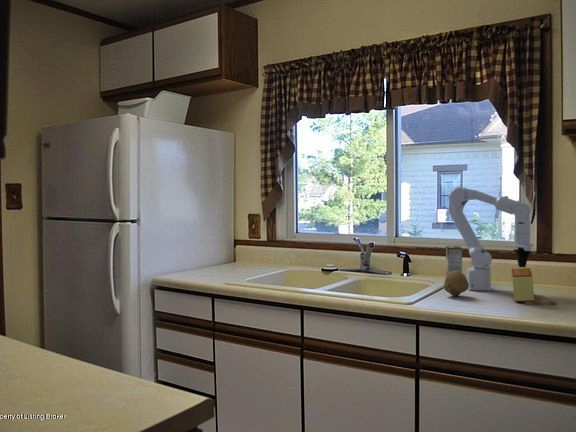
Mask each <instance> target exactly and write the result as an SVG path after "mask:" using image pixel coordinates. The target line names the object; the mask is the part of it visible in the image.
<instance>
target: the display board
mask: <svg viewBox="0 0 576 432" xmlns="http://www.w3.org/2000/svg"><path fill="white" fill-rule="evenodd" d="M521 302H522V303H524V304H526V305H540V306H541V305H543V306H545V305H546V306H548V305H549V306H550V305H551V306H552V305H553V306H554V305H555V306H556V305H557V302H556V301H554V300H552V299H550V298H548V297H547V296H546V295H543V294H534V301H521Z"/></svg>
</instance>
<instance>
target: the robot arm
mask: <svg viewBox="0 0 576 432" xmlns="http://www.w3.org/2000/svg"><path fill="white" fill-rule="evenodd" d="M448 200H449V201H448V213H449V216H450V217H451V219H452V221H453V223H454V224H455V226H456V228H457V230H458V231H459V232H458V233H460V235H461V237H462V239H463V240H464V242H465V245H466V247H467V248H468V252H469V256H470V258H471V259H470V260H471V264H472V267H469V268H467V269H466V275H465V277H466V279H467V281H468V283H469V287H468V289H467V290H469V291H484V292H485V291H494V288H492V287H491V286H492V281H491V279H492V268H491V267H492V266H490V264H491V263H492V260H493V259H492V258H493V257H492V255H491V253H490V252H488V251H487V250H486V249H485V247H484V246H483V245H482V244H481V243H480V241H479V239H478V237H477V235H476V234H475V232H474V230H473V228H472V226H471V224H470V222H469V220H468V219H467V217H466V215H465V214H464V212H463V210H464V208H465V206H466V204H467V203H468V202H469V201H471V200H472V201H473V200H477V201H481V202H483V203H486V204H489V205H493V206H494V207H495V209H496V210H497V211H500V212H504V213H505V214H510V215H514V236H513V237H514V242H513V248H516V249H513V252H514V254H515V256H516V260H517V264H518V267H519V268H527V267H526V266H527V263H528V259H529V257H530V255H531V254H532V253H531V252H532V247H534V244H532V243H531V216H530V215H531V213H532V208H531V206H530V205H529V204H528V203H526V202H521V201H520V200H518V199H517V200H514V199H511V198H509V196H508V195H504V196H499V197H495V196H492V195H490V194H487V193H484V192H482V191H480V190H476V189H471V188H467V187H455V188H453V189H452V190H451V191H450V193H449V196H448Z"/></svg>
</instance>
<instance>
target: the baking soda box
mask: <svg viewBox="0 0 576 432" xmlns="http://www.w3.org/2000/svg"><path fill="white" fill-rule="evenodd" d="M511 277H512V287H513V288H512V289H513V298H514V299H513V300H514V302H515V303H516V302H522V301H534V295H535V294H534V279H533V274H532V270H531V268H530V267H529V268H528V267H522V268H511Z"/></svg>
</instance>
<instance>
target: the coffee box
mask: <svg viewBox="0 0 576 432" xmlns="http://www.w3.org/2000/svg"><path fill="white" fill-rule="evenodd" d="M462 267H463V248H462V247H461V246H460V245H446V246H445V274H446V275H445V277H446V276H447V274H448V273H450V272H452V271H460V272H461V273H463V268H462Z"/></svg>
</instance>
